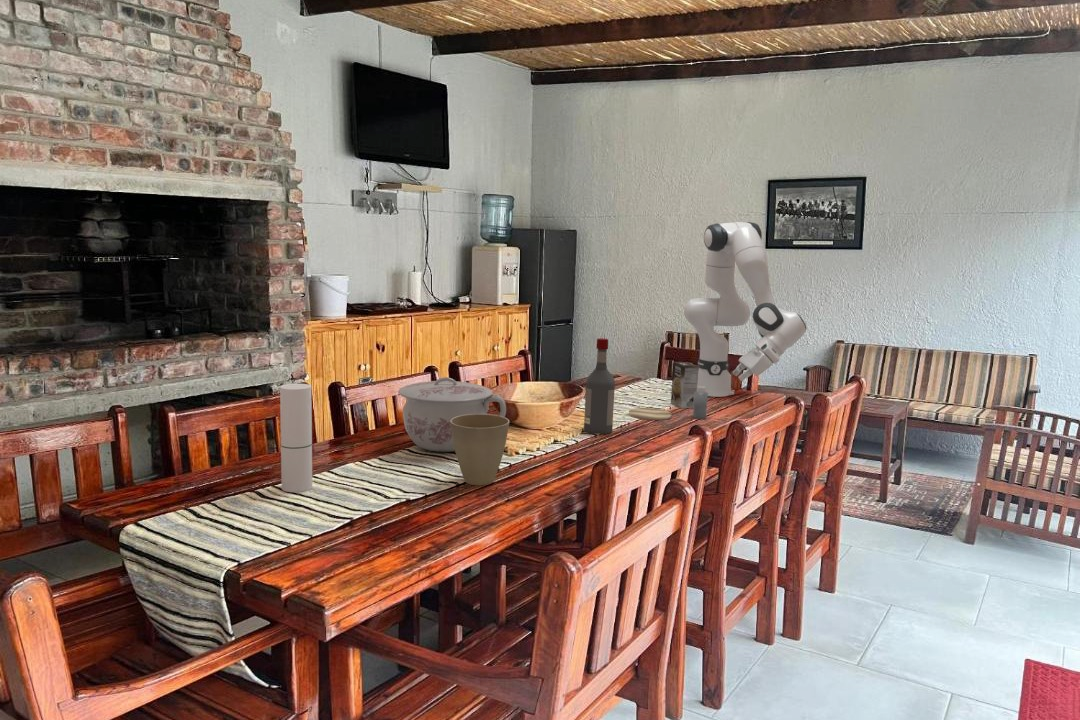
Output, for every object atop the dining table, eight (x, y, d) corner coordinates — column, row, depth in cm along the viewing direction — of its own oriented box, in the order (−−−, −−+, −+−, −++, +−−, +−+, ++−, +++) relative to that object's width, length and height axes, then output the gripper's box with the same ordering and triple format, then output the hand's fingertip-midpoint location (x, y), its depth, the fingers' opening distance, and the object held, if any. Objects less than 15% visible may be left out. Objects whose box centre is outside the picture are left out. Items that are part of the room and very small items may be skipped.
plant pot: (477, 468, 215) (479, 410, 212) (519, 481, 206) (521, 420, 203) (436, 481, 204) (437, 419, 201) (479, 494, 194) (480, 430, 192)
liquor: (612, 427, 265) (617, 338, 260) (612, 434, 256) (616, 341, 251) (584, 426, 266) (588, 336, 261) (583, 433, 257) (587, 340, 252)
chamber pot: (378, 444, 236) (378, 374, 232) (451, 430, 255) (452, 365, 252) (437, 466, 216) (439, 390, 213) (512, 449, 236) (514, 379, 232)
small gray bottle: (691, 415, 287) (693, 385, 286) (704, 416, 287) (706, 386, 285) (693, 418, 283) (696, 388, 281) (707, 419, 283) (709, 388, 281)
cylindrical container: (310, 481, 199) (309, 383, 195) (313, 490, 193) (312, 388, 189) (280, 484, 197) (279, 384, 193) (282, 493, 190) (280, 390, 186)
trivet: (627, 409, 293) (627, 407, 293) (668, 411, 293) (668, 408, 292) (630, 419, 278) (630, 416, 278) (674, 421, 278) (674, 418, 278)
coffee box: (669, 403, 307) (672, 361, 305) (685, 402, 309) (687, 361, 306) (681, 408, 299) (683, 365, 296) (696, 407, 301) (699, 365, 298)
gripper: (754, 339, 290) (724, 365, 292) (768, 348, 270) (737, 375, 272) (765, 352, 291) (736, 377, 293) (780, 361, 271) (749, 388, 273)
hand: (736, 376), depth 282 cm, fingers open, 8 cm apart
